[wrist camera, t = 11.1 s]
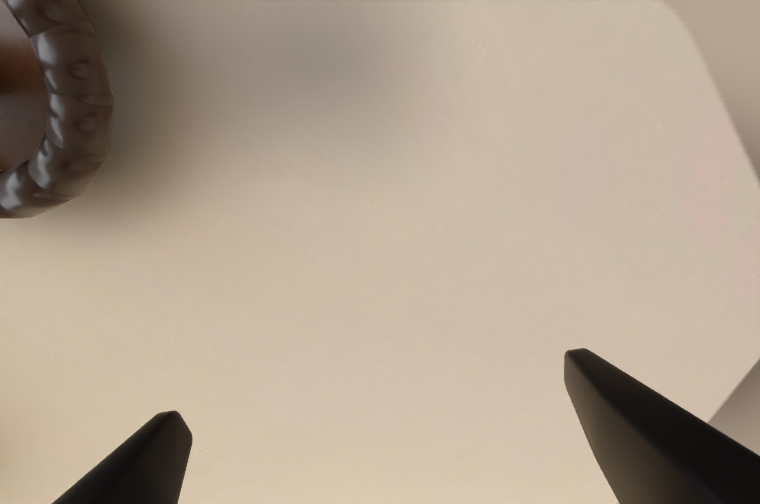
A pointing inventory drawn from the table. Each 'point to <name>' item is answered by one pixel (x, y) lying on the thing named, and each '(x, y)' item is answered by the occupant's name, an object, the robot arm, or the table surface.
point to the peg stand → (19, 94)
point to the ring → (61, 109)
